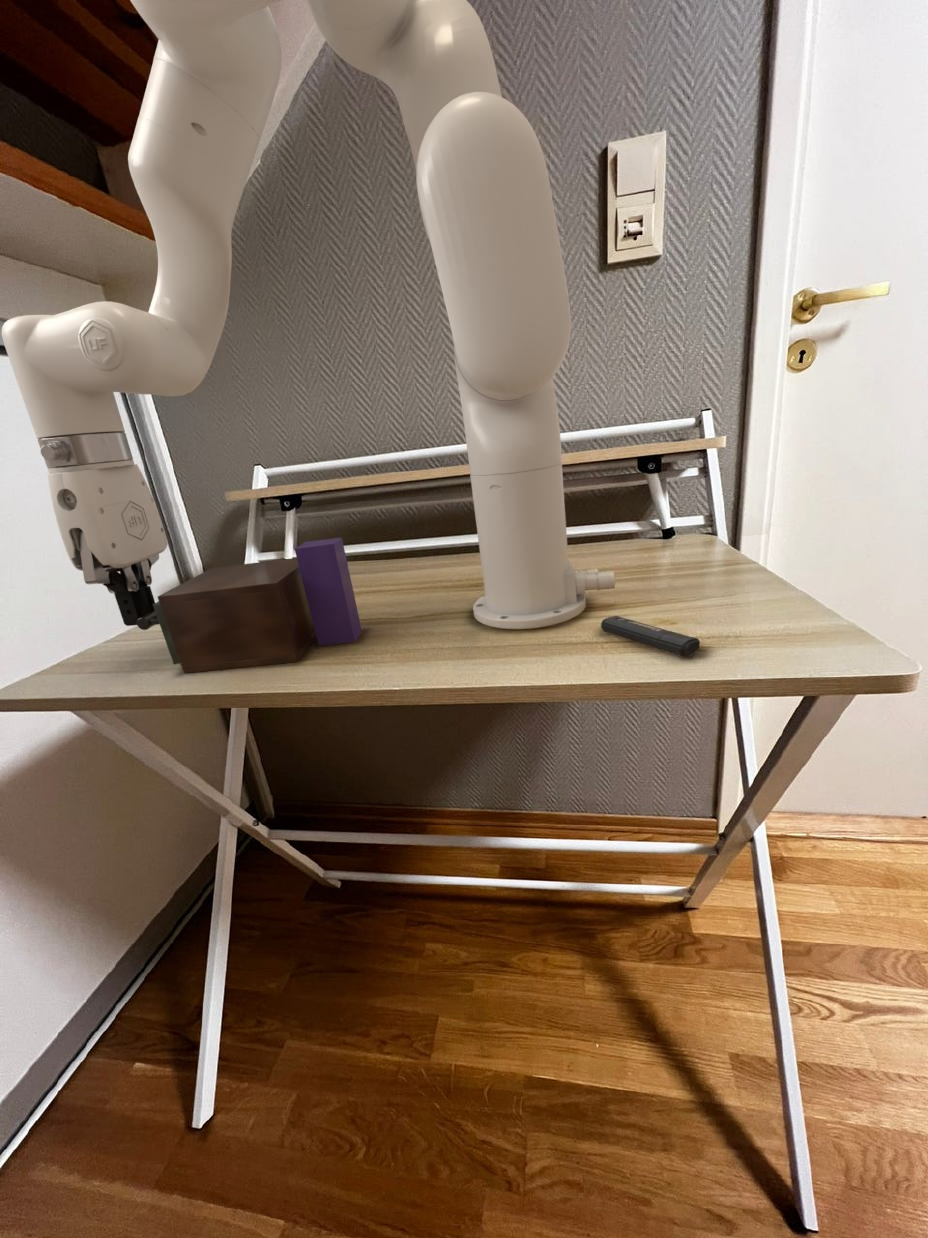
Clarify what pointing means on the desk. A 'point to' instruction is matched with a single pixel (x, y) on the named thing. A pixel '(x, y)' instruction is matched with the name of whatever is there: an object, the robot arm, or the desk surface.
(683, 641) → the usb stick
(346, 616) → the purple rectangular block
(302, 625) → the cabinet
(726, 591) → the desk surface
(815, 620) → the desk surface
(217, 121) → the robot arm
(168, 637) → the drawer
